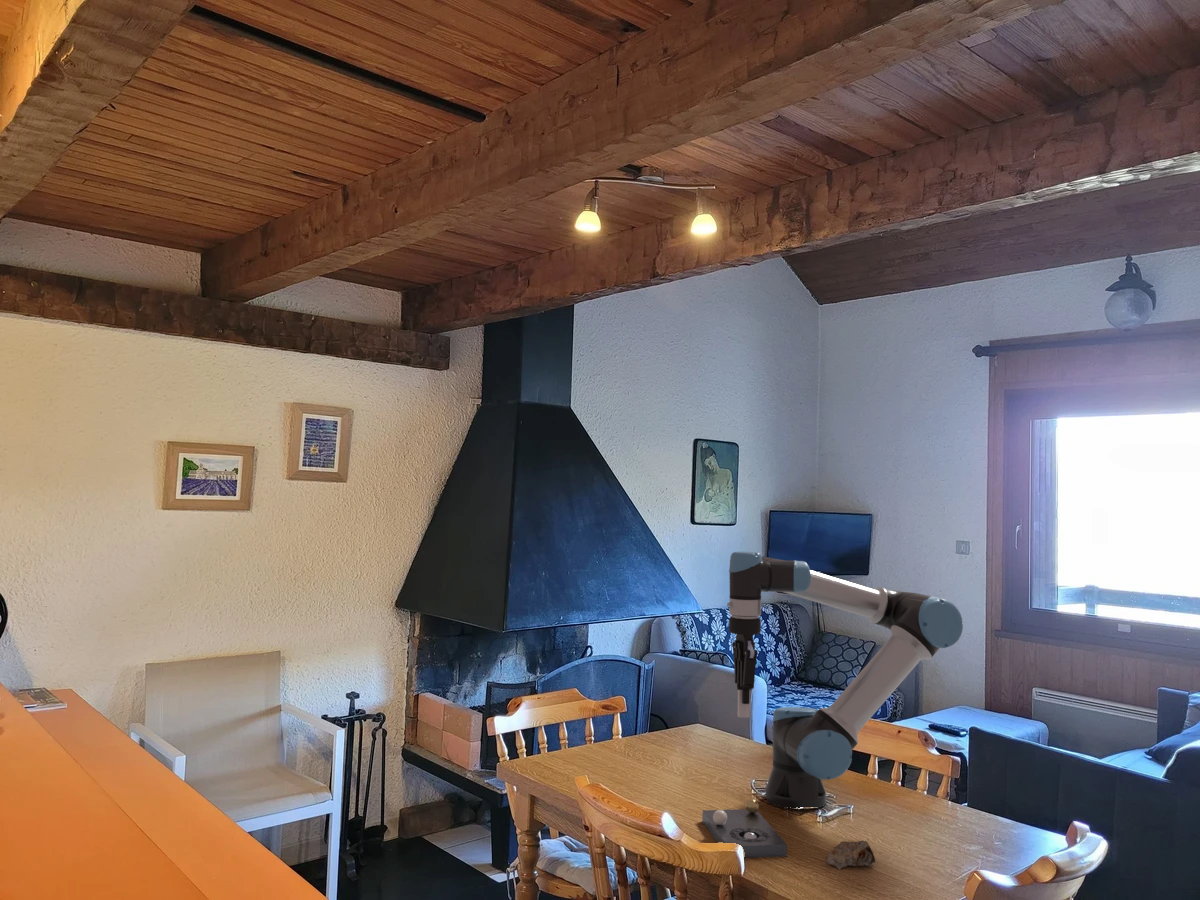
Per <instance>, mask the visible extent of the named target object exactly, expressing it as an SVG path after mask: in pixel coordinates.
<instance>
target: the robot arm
mask: <svg viewBox="0 0 1200 900" xmlns="http://www.w3.org/2000/svg"><path fill="white" fill-rule="evenodd" d="M728 572H729V602H727V607H729V608H728V609H729V612H728V613H729V615H730V617H729V618H728V631H729V633H730V634H734V635H735V640H734V641H733V642H732V643H731V646H732V652H733V669H734V670H733V671H734V683H735V684H736V686H737V687H736V688H737V689H736V690H737V715H736V716H737V718H743V719H744V718H751V694H752V693H751V690H753V689H754V688H755V680H756V679H755V677H756V666H757V657H758V654H759V653H758V649H756V643H755V642H754V636H755V635H759V634H760V633H762V632H761V628H762V627H761V626H762V620H761V618H760V617H761V615H762V592H763V593H766V592H767V593H770V592H775V593H778V592H779V593H780V592H781V593H785V594H788V595H791V596H794V597H798V598H801V599H805V600H807V601H811V602H815V603H818V604H822V605H825V606H827V607H828V606H829V607H831V608H835V609H838V610H842V611H844V612H848V613H850V614H851V613H852V614H854V615H858V616H861V617H864V618H867V619H868V622H870V623H871V624H875V625H877V626H881V627H884V628H885V629H888V630H890V631H891V637H889V639H888V640H887V641H886V642H885V643H884V644H883V646H882V647H881V648H879V650H878V651H877V652H876V654H875V655H874V656H873V657H872V658H870V661H869V662H868V663H867V664H866V665H865V666H864V667H863V668H862V669H861V671H860V672H859V673H858V674H857V676H855V678H854V679H853V680H851V682H850V683H849V684H848V685H847V687H845V689H844V690H843V692H841V694H840V695H839V696H838V697H837V698H836V699H835V701H833V703H832V704H831V705H830V706H829V707H823V708H822V707H821V708H819V709H817V708H812V707H800V706H797V707H796V706H795V707H793V706H792V707H791V706H790V707H789V706H788V707H779V708H776V709H774V711H773V714H772V715H773V717H772V722H771V723H772V768H771V770H770V774H769V776H768V780H767V784H766V786H765V790H764V791H765V795H766V798H765V800H766V799H767V800H766V801H767V802H769V803H770V804H772V805H774V806H777V807H780V808H784V807H788V808H787V809H789V808H790V807H791V808H796V807H798V808H800V807H820V806H823V805H825V804H827V792H826V789H825V785H824V782H823V780H824V781H825V780H826V781H827V780H834V779H837V778H839V777H841V776H842V775H843V774H844V773H846V772H847V771H848V769H849V768H850V766H851V764H852V760H853V758H852V755H853V749H854V748H855V747H857V745H858V743H859V739H858V734H859V732H860V731H861V730H862V729H863V728H864V726H865V725H866V724H867V723H868V722H869V721H870V720H871V719H872V717H873V716H874V715H875V713H877V712H878V710H879V709H880V708H881V707H882V705H883V704H884V703H885V702H886V701H887V700H888V698H890V696H891V695H892V694H893V693H894V691H895V690H896V689H897V688H898V687H899V686H900V684H901V683H902V682H903V681H904V680H905V679H906V678H907V677H908V675H909V674H910V673H911V672H912V671H913V670H914V669H915V667H916V666H917V665H918V664H919V662H920V661H923V660H924V661H925V660H931V659H932V658H933V657H934V656H935V655H936V653H937V652H938V651H939V650H940V649H946V648H950V647H952V646H954V645H955V644H956V643H957V642H958V641H959V640H960V638H961V636H962V632H963V629H964V628H963V627H964V624H963V617H962V614H961V612H960V610H959V609H958V607H957V606H956V605H955V604H954V603H953V602H951V601H949V600H948V599H946V598H945V599H944V598H942V597H941V596H936V595H935V596H934V595H933V596H931V595H927V594H921V593H917V592H908V591H901V590H900V591H899V590H892V589H888V588H885V587H881V586H880V587H876V588H871V587H868V586H864V585H861V584H858V583H854V582H853V581H852V582H851V581H849V580H845V579H843V578H842V579H841V578H839V577H835V576H831V575H828V574H825V573H823V572H818V571H815V570H812V569H811V568H810V566H809V564H808V563H807V562H806V561H804V560H787V559H785V560H784V559H779V558H773V557H768V556H765V555H764V556H762V553H761V552H757V551H734V552H731V554H730V559H729V570H728ZM825 806H826V805H825ZM823 807H824V806H823Z"/></svg>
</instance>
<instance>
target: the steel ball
mask: <svg viewBox="0 0 1200 900" xmlns="http://www.w3.org/2000/svg"><path fill="white" fill-rule="evenodd" d="M743 838H748V839H756V838H757V836H756V835H755V834H754V833H752V832H747V833H746V834H745V835H744V836H743Z"/></svg>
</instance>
